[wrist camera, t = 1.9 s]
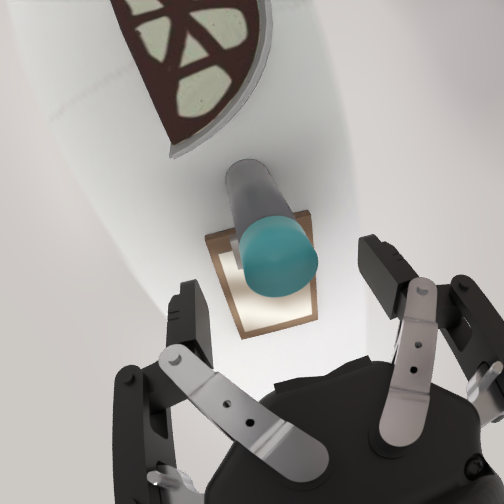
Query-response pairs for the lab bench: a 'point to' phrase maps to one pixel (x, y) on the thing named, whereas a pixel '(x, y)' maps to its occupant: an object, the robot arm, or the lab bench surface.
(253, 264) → the marker
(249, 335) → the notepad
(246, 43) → the food container
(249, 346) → the lab bench surface
